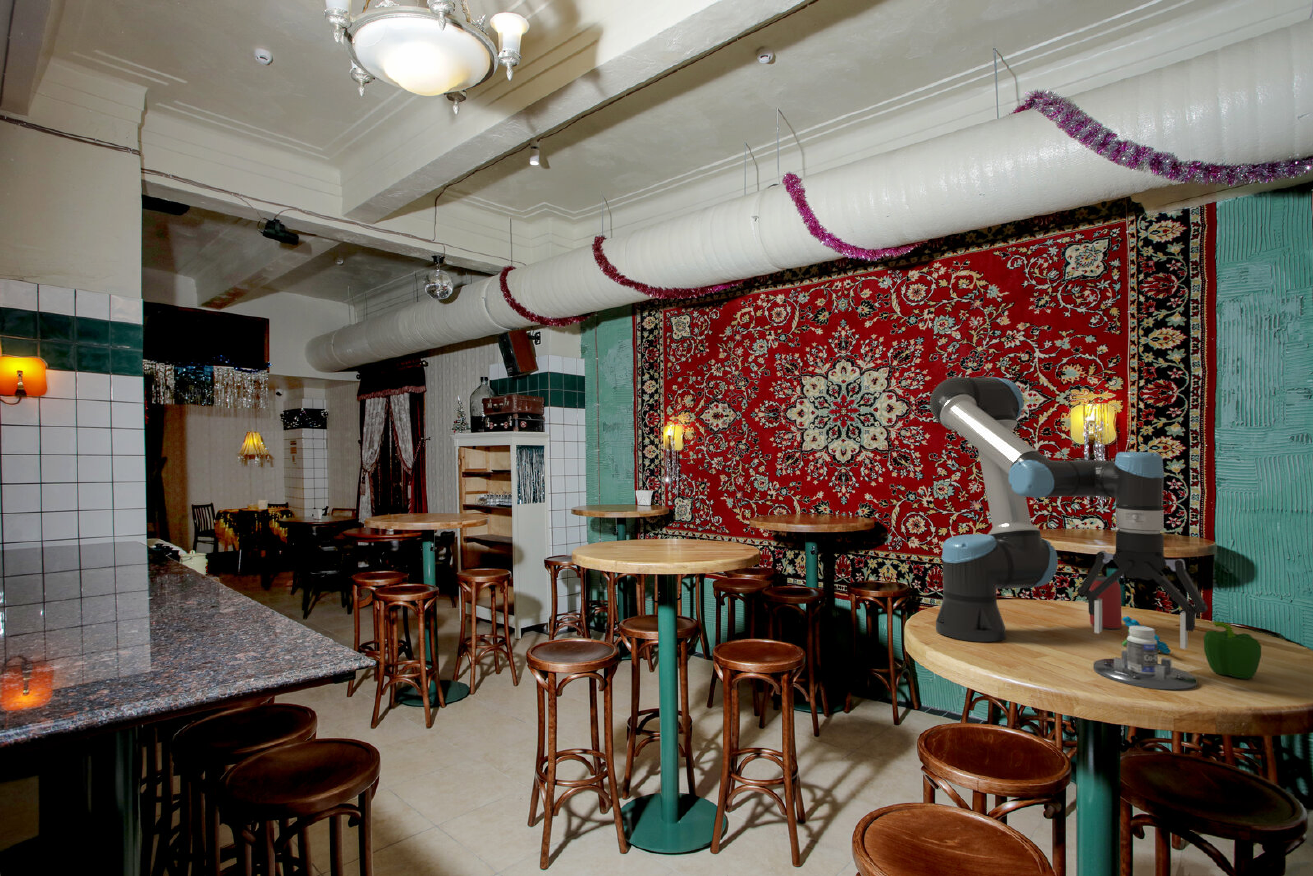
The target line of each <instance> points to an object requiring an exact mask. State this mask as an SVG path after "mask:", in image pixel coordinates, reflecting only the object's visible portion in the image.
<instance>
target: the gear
mask: <svg viewBox="0 0 1313 876" xmlns="http://www.w3.org/2000/svg"><path fill="white" fill-rule="evenodd" d="M1122 621H1123V622H1124V623H1125V624H1124V625H1125V626H1126V627H1127V628H1128V630H1127V633H1128V634H1127V635H1126V636H1127V637H1128V636H1130V635H1131V634H1129V627H1130V626H1144V627H1146V626H1145V625H1144V624H1143V625H1141V624H1140V622H1139V621H1138V620H1136V619H1134V618H1133V619H1132V618H1131V617H1130V616H1124V617H1122ZM1153 638H1154V639H1155V640H1156V641H1157V652H1158V651H1160V652H1161V653H1162V654H1164V655H1166V654H1168V655H1169V654H1171V651H1172V650H1171V649H1169V645H1168V644H1167V643H1165V642H1164V641H1160V639H1161V637H1160V636H1158V635H1157V634H1156V633H1155V637H1153ZM1121 646H1123V647H1127V638H1126V639H1125V640H1124V641H1123V642H1122V643H1121Z"/></svg>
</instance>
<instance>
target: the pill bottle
mask: <svg viewBox="0 0 1313 876" xmlns="http://www.w3.org/2000/svg"><path fill="white" fill-rule="evenodd" d="M1144 626H1145V625H1144ZM1144 626H1143V625H1141V626H1130V627H1129V628H1128V630H1129V632H1128V634H1131V635H1130V636H1127V637H1126V639H1127V645H1126V651H1127V659H1128V660H1127V661H1128V669H1129V670H1130V671H1133V672H1136V673H1139V674H1145V675H1154V674H1155V666H1156V665H1158V664H1159V663H1158V650H1157V641H1156V640H1155V639H1154V638H1153V637H1155V634H1156V631H1155V630H1156V629H1154V628H1153V627H1149V626H1145V627H1144Z"/></svg>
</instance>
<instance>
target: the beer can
mask: <svg viewBox="0 0 1313 876" xmlns="http://www.w3.org/2000/svg"><path fill="white" fill-rule="evenodd" d="M1108 577H1109V576H1101V575H1100V576H1099V575H1098V576H1097V577H1096V579H1095V580H1094V582H1093V584H1092V585H1091V587H1090V588H1089V590H1090V591H1093V590H1094V589H1095V588H1097V587H1098V586H1099V585H1100V584H1101V583H1102V582H1104V581H1105V580H1106V579H1107V578H1108ZM1098 598H1099V599H1102V630H1103V629H1104V630H1119V629H1121V628H1122V627H1123V626H1122V623H1123V622H1122V621H1123V620H1122V619H1123V617H1122V588H1121V585H1120V583H1119V579H1118V580H1116V581H1115V582H1114V583H1113V584H1112V585H1111V586H1109V587H1108V588H1107V589H1106V590H1105V591H1104V592H1102V593H1101V594H1100V595H1099V596H1098V597H1097V599H1098ZM1089 624H1091V626H1092V627H1094V615H1090V614H1089Z"/></svg>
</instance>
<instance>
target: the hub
mask: <svg viewBox="0 0 1313 876" xmlns="http://www.w3.org/2000/svg"><path fill="white" fill-rule="evenodd" d="M1120 654H1121V657H1117V656H1116V657H1114V658H1102V659H1099V660H1095V661H1094V662H1093V667H1092V668H1093V670H1094V672H1095V673H1097V674H1098V675H1100V676H1101V677H1104V678H1106V679H1108V680H1112V681H1115V682H1118V683H1122V684H1124V685H1129V686H1135V687H1139V688H1144V689H1145V688H1146V689H1151V690H1152V689H1153V690H1161V691H1162V690H1163V691H1187V690H1191V689H1194V688H1196V687H1197V684H1198V683H1197V677H1195V676H1194V675H1193V674H1191V673H1189V672H1186V671H1184V670H1182V669H1178V668H1177V667H1174V666H1173V665H1172V663H1173V662H1172V660H1173V659H1172V658H1167V657H1161V658H1160V659H1161V660H1160V661H1161V662H1160V663H1158V665H1156V666H1155V674H1154V675H1145V674H1139V673H1136V672H1133V671H1130V670H1129V669H1128V661H1127V660H1128V659H1127V650H1121V653H1120Z"/></svg>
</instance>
